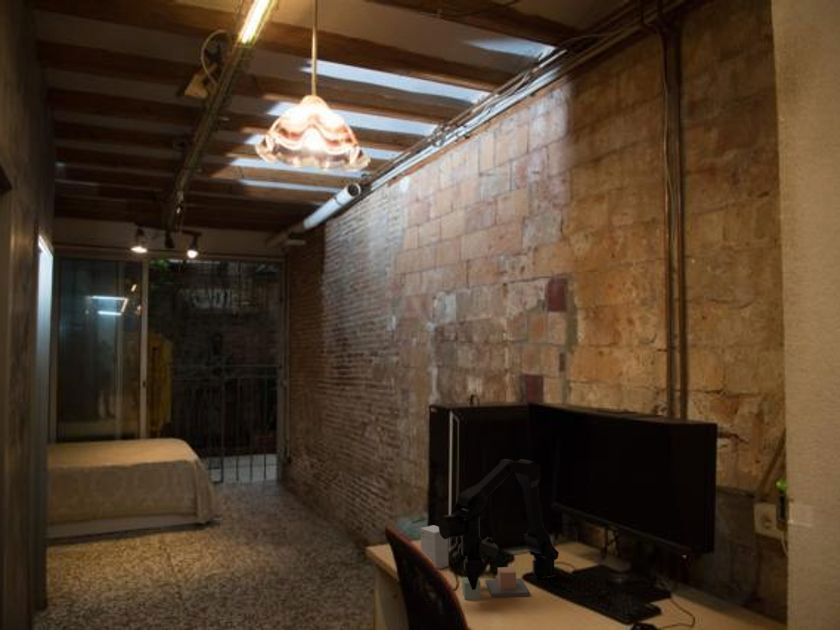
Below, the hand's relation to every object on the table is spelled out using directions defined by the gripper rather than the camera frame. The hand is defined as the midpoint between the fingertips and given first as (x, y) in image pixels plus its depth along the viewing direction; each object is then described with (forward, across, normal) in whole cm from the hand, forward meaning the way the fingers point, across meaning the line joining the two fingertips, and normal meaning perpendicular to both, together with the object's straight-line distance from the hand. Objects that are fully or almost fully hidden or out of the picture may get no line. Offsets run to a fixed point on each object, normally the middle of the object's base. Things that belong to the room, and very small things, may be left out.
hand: (471, 583), depth 202 cm
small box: (+4, +29, +9) cm, 31 cm away
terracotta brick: (+2, +4, -12) cm, 13 cm away
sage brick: (+4, 0, 0) cm, 4 cm away
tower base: (+4, +4, -12) cm, 13 cm away
